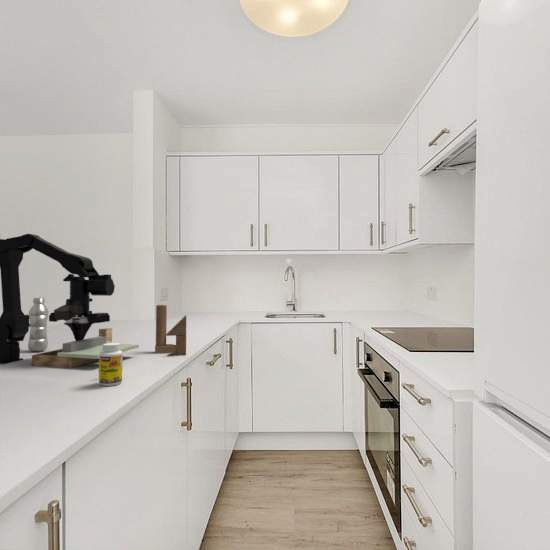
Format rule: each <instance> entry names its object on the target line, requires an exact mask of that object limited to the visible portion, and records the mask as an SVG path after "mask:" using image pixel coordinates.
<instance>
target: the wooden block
mask: <svg viewBox="0 0 550 550" xmlns="http://www.w3.org/2000/svg"><path fill="white" fill-rule="evenodd" d="M167 307H168V306H167V305H166V304H157V305H156V308H155V346H154V354H155V355H157V354H166V355H165V357H166V356H167V357H168V356H170V355H171V356H186V355H187V315H186V314H185V315H184V316H183V317H182V318H181V319H180V320H179V321H178V322H177V323H176V324H175V325H174V326H173V327H172V328H171V329H170V330H169V331H167V313H168V312H167V310H168V309H167ZM169 336H170V337H171V336H173V337H174V336H175V344H174V343H172V344H171V343H168V344H167V337H169Z"/></svg>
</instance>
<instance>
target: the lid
mask: <svg viewBox="0 0 550 550" xmlns="http://www.w3.org/2000/svg"><path fill="white" fill-rule="evenodd" d="M106 340H107V337H102V336H99V335H98V336H93V337H88V338H84V339H83V340H78V341H76V340H73V341H69V342H63V343H62V349H63V352H60V353H57V356H59V357H76V358H92V359H99V354H100V352H102V351H103V344H106ZM119 347H120V348H119V350H120V351H122V353H124V352H128V351H131V350H134V349H139V347H140V346H139V344H133V343H119Z"/></svg>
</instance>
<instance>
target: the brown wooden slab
mask: <svg viewBox="0 0 550 550" xmlns="http://www.w3.org/2000/svg"><path fill="white" fill-rule="evenodd" d="M60 352H63V348H61V349H54V350H50V351H45V352H40V353H37V354H32V355H31V366H37V367H38V366H39V367H50V368H51V367H52V368H65V369H73V368H77V367H80V366H83V365H86V364H90V363H93V362H97V361H98V362H99V359H92V358H76V357H59V356H57V353H60Z"/></svg>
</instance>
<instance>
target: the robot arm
mask: <svg viewBox="0 0 550 550" xmlns="http://www.w3.org/2000/svg"><path fill="white" fill-rule="evenodd" d="M32 250H34V251H37V252H38V253H40V254H43V255H45V256H46V257H48V258H51V259H52V260H54V261H56V262H58V263H59V264H60V265H61V266H62V268H63V269H65V270H66V271H67V272H68V274H67V276H65V277H64V278H63V279H62V281H63V282H69V298H66V301H65V304H63V305H61V306H59V307H58V308H57V307H56V308H55V309H54V310H53V312H50V313H49V314H48V322H52V323H56V322H58V321H64V322H63V325H65V326H67V327H68V328H69V329H70V330H71V332H72V335H73V337H74V341H78V340H83V339H85V337H86V335H87V334H88V332H89V330H90V329H91V327H92V325H93V324H101V323H108V322H110V321H111V319H110V318H111V315H110V314H109V313H108V312H93V310H90V303H91V302H93V298H90V297H91V296H93V297H94V296H96V297H97V296H99V297H101V296H105V297H106V296H112V295H113V294H114V292H115V287H116V286H115V283H114V280H113V278H112V274H101V275H100V274H99V272H98V271H97V269H96V268H95V266H94V263H93V260H92V259H91V258H89V257H87V256H84V255H80V254H75V253H72V252H69V251H67V250H66V249H63V248H61V247H59V246H57V245H56V244H53V243H51V242H50V241H47V240H45V239H44V238H42V237H40V235H37V234H34V233H26V234H22V235H19V236H14V237H8V238H6V239H4V238H3V239H1V238H0V282H1V283H0V284H1V299H2V300H1V301H2V313H1V315H0V364H7V365H8V364H11V363H14V362H20V361H23V360H24V358H22V357H21V356H20V355H21V352H20V351H21V347H20V342H24V340H25V337H26V335H27V334H28V333H29V332H30V331H29V330H30V327H31V326H30V319H29V318H30V317H29V314H25V313H24V312H23V310H22V301H21V288H20V287H21V286H20V271H19V270H20V268H19V267H20V265H21V263H22V261H23V259H24V254H26V253H29V252H30V251H32ZM86 278H88V279H86ZM90 295H91V296H90Z"/></svg>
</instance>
